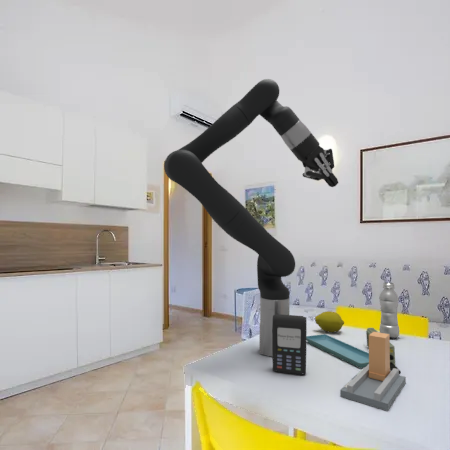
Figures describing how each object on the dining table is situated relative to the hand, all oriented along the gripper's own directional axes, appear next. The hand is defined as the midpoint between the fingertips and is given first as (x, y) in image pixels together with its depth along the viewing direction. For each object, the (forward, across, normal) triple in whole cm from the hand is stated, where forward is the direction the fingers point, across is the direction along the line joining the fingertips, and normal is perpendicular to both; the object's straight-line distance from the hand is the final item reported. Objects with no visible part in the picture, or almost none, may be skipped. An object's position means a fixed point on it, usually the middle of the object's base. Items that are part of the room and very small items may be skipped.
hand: (335, 185), depth 100 cm
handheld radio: (+49, -25, +2) cm, 55 cm away
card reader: (+27, -48, +3) cm, 55 cm away
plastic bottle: (+62, -9, +18) cm, 65 cm away
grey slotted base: (+37, -39, -13) cm, 56 cm away
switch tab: (+38, -35, -11) cm, 53 cm away
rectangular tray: (+43, -31, +11) cm, 54 cm away
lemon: (+49, -20, +32) cm, 62 cm away
